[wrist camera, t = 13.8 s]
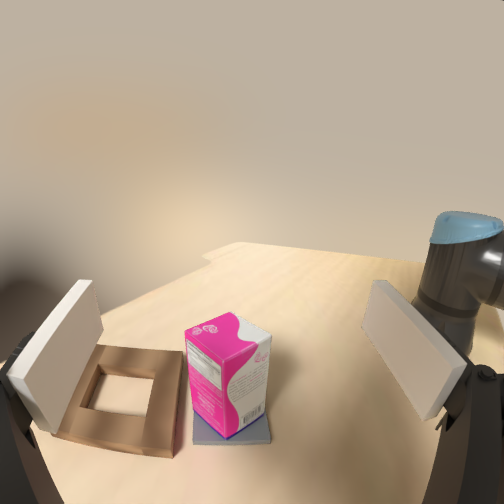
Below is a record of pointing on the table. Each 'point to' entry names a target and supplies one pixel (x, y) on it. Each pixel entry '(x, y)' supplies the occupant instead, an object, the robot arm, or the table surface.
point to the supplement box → (228, 372)
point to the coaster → (247, 436)
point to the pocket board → (118, 425)
